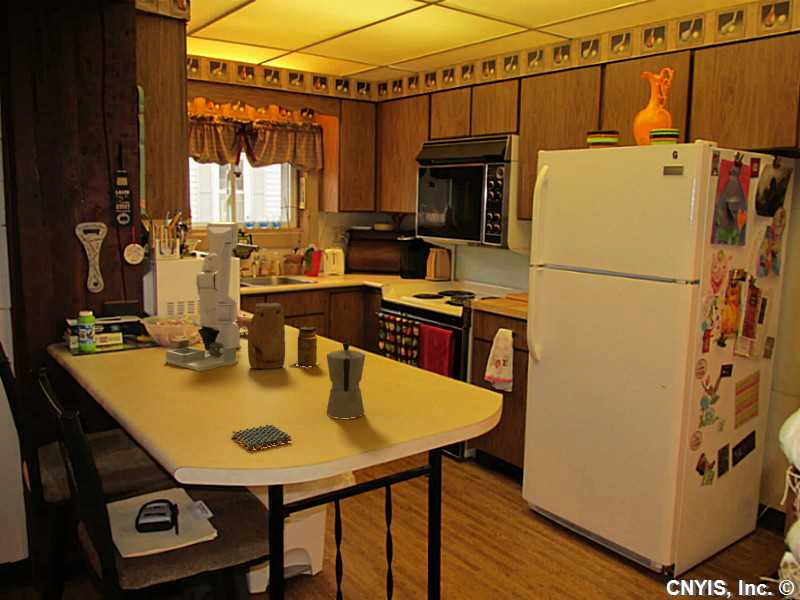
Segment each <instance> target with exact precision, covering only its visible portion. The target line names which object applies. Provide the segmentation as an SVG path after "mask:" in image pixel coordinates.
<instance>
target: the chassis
mask: <svg viewBox="0 0 800 600" xmlns="http://www.w3.org/2000/svg"><path fill="white" fill-rule="evenodd" d="M219 352H220V353H223V354H222V356H221V355H220V357H215V356H211V355H210V354H209V353H210V352H209V351H206V350H204V349H200V348H196V347H190V346H189V347H185V348H179V349H174V350H170V349H169V350H165V362H166V363H167V362H168V363H167V364H171V363H172V365H174V364H176V365H175V366H178V365H179V367H182V366H183V367H182V368H185V367H186V369H189V368H190V369H191V370H193V369H194V370H193V371H198V372H201V371H202V370H203V371H207V370H211V369H210V368H212V369H215V368H221V367H225V366H229V365H233V364H234V365H235V364H238V363H239V358H237V348H236V347H235V346H231V347H226V348H223V349H222V348H220V349H219ZM220 366H221V367H220ZM190 369H189V370H190ZM206 369H207V370H206ZM203 371H202V372H203Z"/></svg>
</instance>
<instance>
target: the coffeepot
mask: <svg viewBox="0 0 800 600" xmlns="http://www.w3.org/2000/svg"><path fill="white" fill-rule="evenodd" d="M342 347H343V349H341V350H339V349H338V350H335V351H331V352H329V353H326V360H327V367H328V374H329V380H330V382H331V388H330V391H329V397H328V402H327V403H328V404H327V407H326V414H327V415H328V414H329V415H330V416H332V417H338V418H351V417H359V416H360V415H362V414H363V415H364V413H365V409H364V404H363V397H362V391H361V388H360V382H361V381H362V377H363V373H364V371H363V370H364V365H365V360H366V354H365V353H362V352H360V351H357V350H352V349H349V348H350V343H349V342H343V343H342ZM363 415H362V416H363ZM330 416H329V417H330ZM359 418H360V417H359Z"/></svg>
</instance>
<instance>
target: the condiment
mask: <svg viewBox="0 0 800 600" xmlns="http://www.w3.org/2000/svg"><path fill="white" fill-rule="evenodd" d="M316 330H317V329H316V327H313V326H302V327H299V328H298V337H297V362H296V363H292V364H288V367H291V368H296V367H300V366H301V367H300V368H299V369H304V368H305V367H307V368H305V369H307V370H309V369H311V368H312V367H309V366H314V365H316V363H318V360H317V359H318V358H317V356H318V355H317V354H318V348H317V347H318V346H317V344H318V343H317V342H318V339H317V336H316V334H317V333H316ZM296 364H298V365H299V366H296ZM302 366H305V367H302ZM314 367H315V366H314ZM305 369H304V370H305Z"/></svg>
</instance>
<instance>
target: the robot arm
mask: <svg viewBox="0 0 800 600" xmlns="http://www.w3.org/2000/svg"><path fill="white" fill-rule="evenodd" d="M206 237H207V238H208V239H207V240H208V241H209V244H210V245H209V252H208V253H207V255H204V258H203V261H202V262H203V263H202V267H201V269H200V272H199V273H198V274H197V275H196V281H195V282H196V289H197V295H198V297H199V299H198V300H199V302H198V303H199V319H197V318H196V319H192V327H200V328H199V329H198V330H197V333H199V335H200V337H201V339H202V342H203V345H204V349H205V350H204V351H207V352H209V348H210V347H209V346H210V344H212V343H213V342H218V343H222V344H223V345H224V346H223V347H224V348H226V347H231V346H235V347H236V349H237V348H242V345H241V344H240V342H241V341H240V339H241V337H240V336H241V335H240V334H241V333H240V331H241V329H240V330H239V326H238V324H237V313H238V308H237V307H238V306H237V302H236V300H235V299H234V298H233V297H232V296H231V295H230V285H231V284H230V282H231V267H232V265H231V264H232V254H233V250H234V249H235V248H237V247H238V243H239V225H238V224H237V222H235V221H233V222H228V221H227V222H226V221H225V222H224V221H219V222H218V221H209V222H208V223H207V225H206ZM216 350H217V348H216Z"/></svg>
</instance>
